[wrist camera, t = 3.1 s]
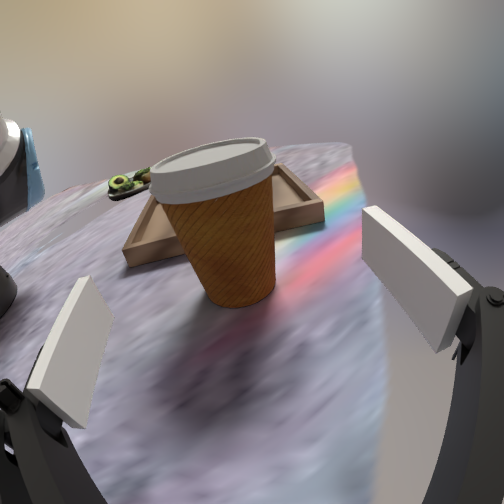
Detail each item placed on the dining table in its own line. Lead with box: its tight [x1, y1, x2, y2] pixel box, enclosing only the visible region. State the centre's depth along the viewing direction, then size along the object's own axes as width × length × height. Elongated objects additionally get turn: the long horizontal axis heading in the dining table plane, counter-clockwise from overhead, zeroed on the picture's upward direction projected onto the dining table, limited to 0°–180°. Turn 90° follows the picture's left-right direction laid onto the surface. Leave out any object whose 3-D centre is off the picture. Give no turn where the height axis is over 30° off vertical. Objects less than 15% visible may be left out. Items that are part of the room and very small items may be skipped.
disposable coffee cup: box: [149, 137, 276, 308], centre depth 22 cm, size 10×10×12 cm
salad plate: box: [108, 167, 151, 201], centre depth 68 cm, size 19×18×5 cm
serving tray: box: [122, 163, 325, 267], centre depth 40 cm, size 24×20×2 cm
